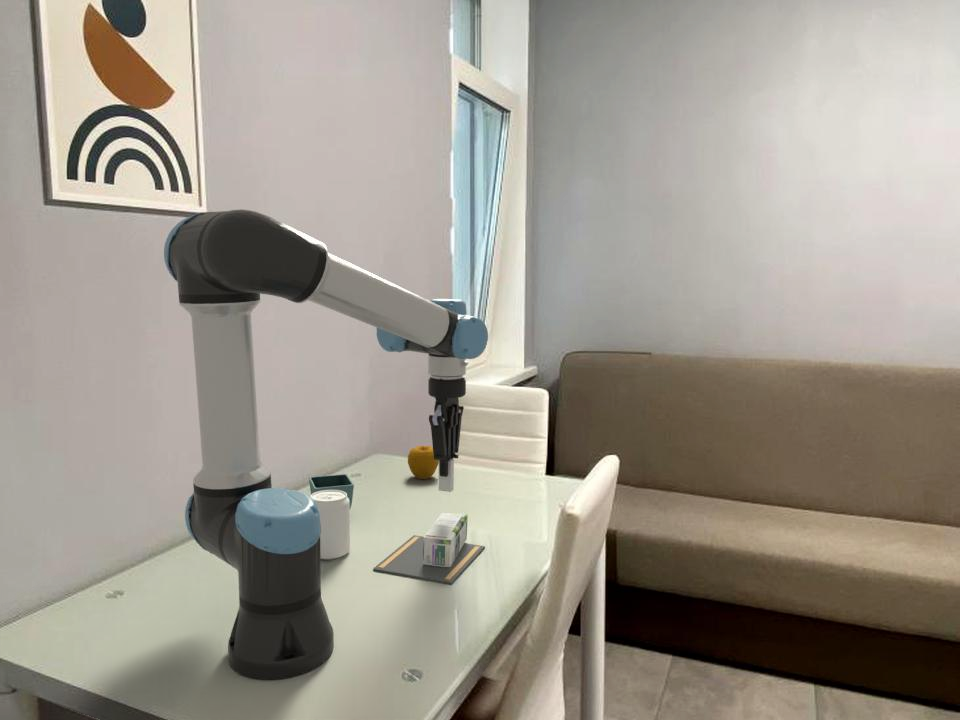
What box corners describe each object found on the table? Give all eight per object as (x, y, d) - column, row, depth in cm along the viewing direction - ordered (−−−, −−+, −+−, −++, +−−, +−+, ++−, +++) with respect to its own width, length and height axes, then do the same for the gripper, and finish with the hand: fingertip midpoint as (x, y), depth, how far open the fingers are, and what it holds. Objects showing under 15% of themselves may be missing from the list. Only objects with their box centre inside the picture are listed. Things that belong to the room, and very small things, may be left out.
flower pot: (355, 523, 158) (354, 484, 157) (315, 527, 155) (314, 488, 154) (347, 510, 166) (346, 473, 165) (309, 514, 163) (308, 477, 162)
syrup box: (467, 540, 148) (452, 568, 134) (439, 537, 149) (422, 565, 135) (467, 513, 147) (452, 539, 133) (440, 511, 149) (422, 537, 134)
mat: (451, 584, 128) (451, 581, 128) (373, 570, 134) (373, 567, 134) (484, 548, 145) (484, 545, 145) (413, 537, 150) (413, 534, 150)
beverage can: (340, 563, 137) (339, 503, 135) (301, 559, 138) (300, 500, 137) (356, 547, 145) (355, 490, 143) (319, 543, 146) (318, 487, 145)
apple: (427, 471, 199) (427, 440, 198) (445, 478, 193) (445, 446, 191) (401, 476, 194) (401, 444, 193) (419, 484, 187) (419, 451, 186)
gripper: (452, 382, 134) (450, 502, 137) (476, 373, 147) (474, 483, 150) (416, 379, 137) (415, 497, 140) (442, 370, 149) (441, 479, 152)
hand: (446, 490), depth 145 cm, fingers closed
